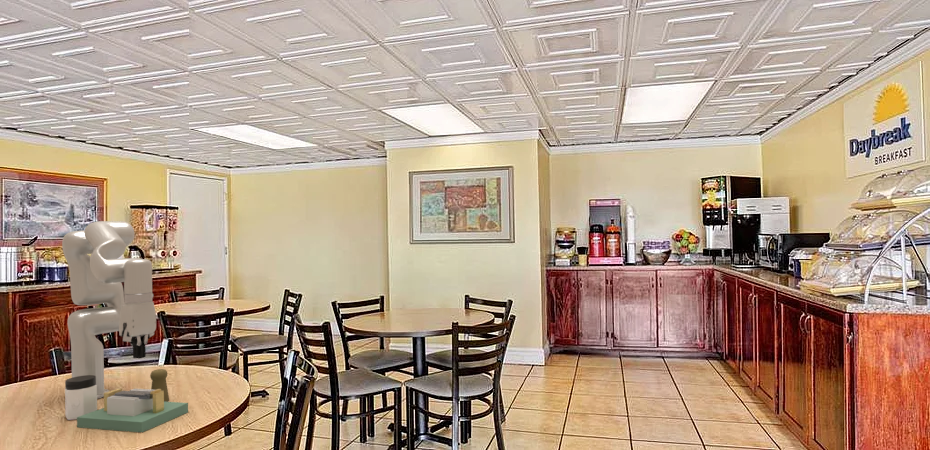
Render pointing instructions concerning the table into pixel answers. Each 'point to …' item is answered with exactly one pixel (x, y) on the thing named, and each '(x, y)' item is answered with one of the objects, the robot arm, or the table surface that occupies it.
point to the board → (132, 420)
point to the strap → (135, 394)
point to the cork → (160, 382)
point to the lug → (158, 400)
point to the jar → (80, 396)
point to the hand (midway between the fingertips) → (139, 357)
